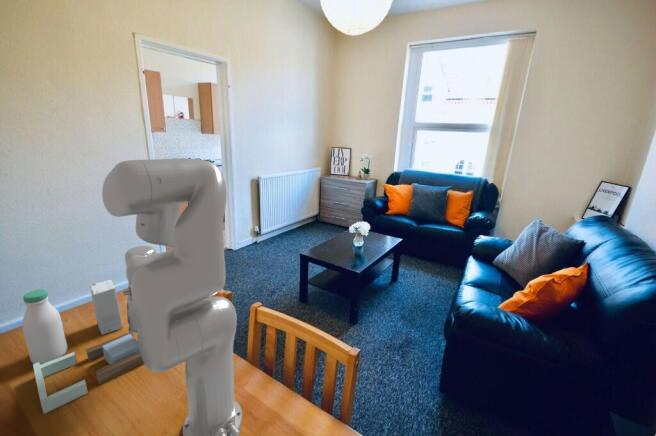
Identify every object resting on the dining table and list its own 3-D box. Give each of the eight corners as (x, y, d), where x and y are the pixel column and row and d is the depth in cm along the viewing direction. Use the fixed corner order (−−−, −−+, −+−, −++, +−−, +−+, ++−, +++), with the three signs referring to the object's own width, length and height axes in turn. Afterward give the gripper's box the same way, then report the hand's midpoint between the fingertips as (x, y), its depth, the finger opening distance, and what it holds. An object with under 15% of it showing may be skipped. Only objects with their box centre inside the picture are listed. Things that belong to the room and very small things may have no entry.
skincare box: (123, 328, 96) (116, 288, 92) (100, 336, 92) (92, 294, 88) (118, 316, 102) (111, 278, 98) (96, 323, 98) (88, 283, 93)
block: (142, 357, 85) (140, 344, 84) (114, 371, 79) (111, 357, 78) (132, 346, 89) (130, 333, 88) (104, 359, 83) (102, 346, 82)
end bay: (87, 392, 72) (85, 379, 71) (43, 414, 67) (40, 400, 66) (75, 360, 82) (73, 348, 81) (36, 376, 76) (32, 364, 75)
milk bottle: (70, 355, 84) (56, 293, 78) (32, 370, 78) (14, 304, 73) (66, 342, 89) (52, 283, 83) (30, 354, 83) (13, 292, 78)
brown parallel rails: (146, 362, 83) (145, 353, 82) (99, 384, 75) (97, 375, 74) (132, 339, 91) (131, 331, 90) (87, 358, 83) (86, 349, 82)
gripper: (118, 303, 77) (127, 361, 82) (177, 284, 87) (182, 336, 92) (110, 292, 81) (119, 347, 86) (167, 275, 92) (172, 325, 97)
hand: (152, 341), depth 89 cm, fingers closed
